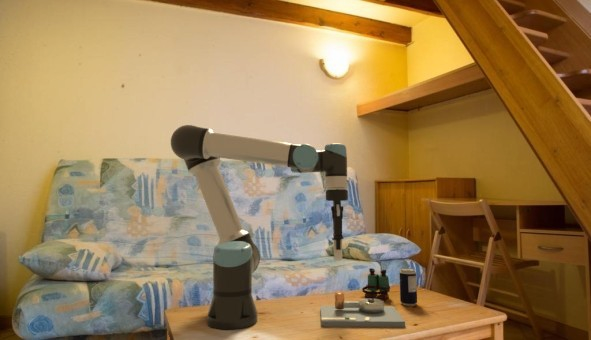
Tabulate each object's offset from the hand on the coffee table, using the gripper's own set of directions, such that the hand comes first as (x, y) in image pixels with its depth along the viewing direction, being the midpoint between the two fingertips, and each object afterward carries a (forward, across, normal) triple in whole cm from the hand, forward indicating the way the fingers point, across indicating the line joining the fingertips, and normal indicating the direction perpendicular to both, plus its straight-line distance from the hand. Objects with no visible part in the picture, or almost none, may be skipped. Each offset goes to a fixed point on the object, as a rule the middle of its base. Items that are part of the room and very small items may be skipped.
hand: (338, 259), depth 129 cm
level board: (+17, -9, -6) cm, 20 cm away
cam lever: (+15, -6, -6) cm, 17 cm away
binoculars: (+17, +14, -15) cm, 26 cm away
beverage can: (+17, +7, -25) cm, 31 cm away
